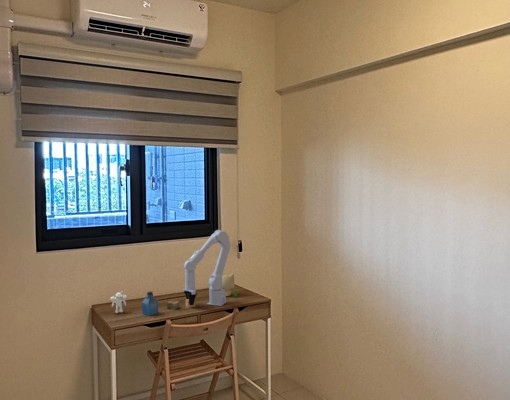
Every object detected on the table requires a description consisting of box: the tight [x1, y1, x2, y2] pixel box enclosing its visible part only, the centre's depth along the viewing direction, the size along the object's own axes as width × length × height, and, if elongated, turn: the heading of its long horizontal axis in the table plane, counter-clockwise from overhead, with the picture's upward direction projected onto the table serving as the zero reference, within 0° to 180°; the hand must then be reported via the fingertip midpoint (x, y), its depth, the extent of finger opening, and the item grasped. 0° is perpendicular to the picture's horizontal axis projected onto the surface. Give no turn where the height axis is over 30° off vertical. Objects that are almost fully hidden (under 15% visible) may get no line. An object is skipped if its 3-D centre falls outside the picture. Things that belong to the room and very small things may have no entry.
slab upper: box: [166, 300, 180, 307], centre depth 273 cm, size 5×5×2 cm
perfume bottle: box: [141, 291, 159, 317], centre depth 263 cm, size 6×6×12 cm
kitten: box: [221, 272, 239, 298], centre depth 299 cm, size 15×10×15 cm
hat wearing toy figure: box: [110, 290, 128, 314], centre depth 265 cm, size 9×4×12 cm, turn 118°
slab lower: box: [166, 304, 180, 311], centre depth 273 cm, size 5×5×2 cm
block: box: [185, 298, 196, 309], centre depth 276 cm, size 4×4×4 cm
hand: (190, 303), depth 276 cm, fingers open, 5 cm apart
